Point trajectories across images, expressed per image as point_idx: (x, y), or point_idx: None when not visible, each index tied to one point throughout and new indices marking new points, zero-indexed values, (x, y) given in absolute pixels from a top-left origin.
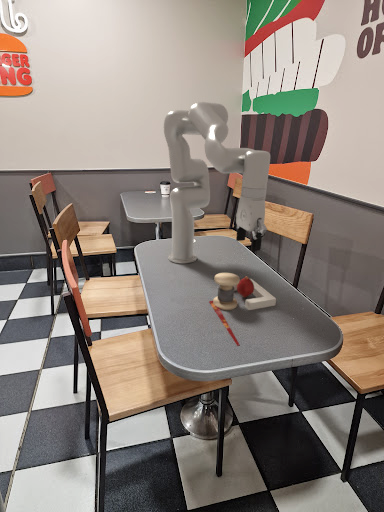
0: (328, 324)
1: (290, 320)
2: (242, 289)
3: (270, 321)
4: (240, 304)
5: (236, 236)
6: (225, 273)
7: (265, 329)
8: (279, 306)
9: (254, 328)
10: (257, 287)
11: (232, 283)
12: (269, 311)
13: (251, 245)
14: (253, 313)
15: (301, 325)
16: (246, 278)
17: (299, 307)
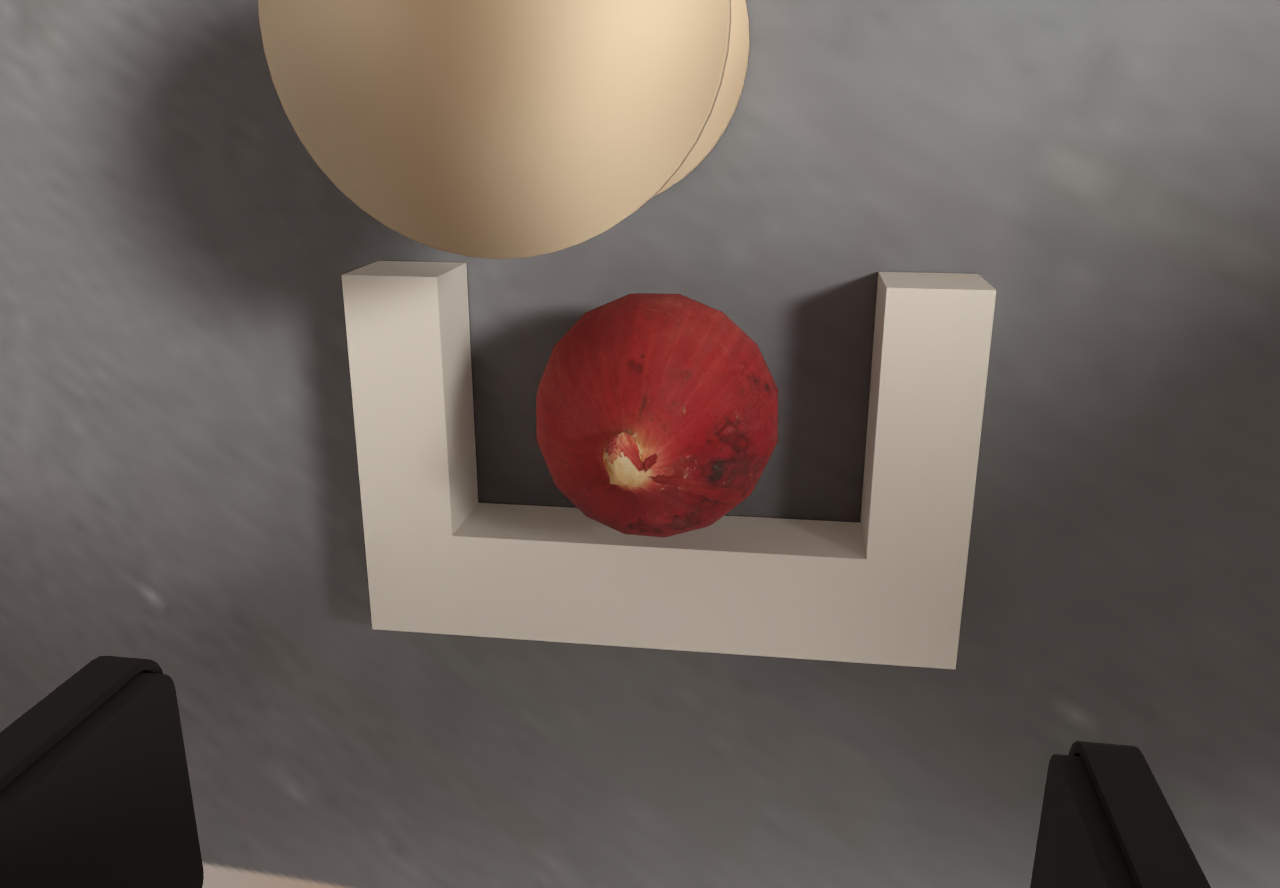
0: None
1: (123, 550)
2: (574, 326)
3: (136, 359)
4: None
5: (1179, 831)
6: (677, 81)
7: (15, 227)
8: None
9: (44, 125)
10: (691, 597)
11: (261, 12)
12: (309, 462)
13: (27, 739)
14: (308, 276)
15: (35, 586)
16: (607, 450)
17: (316, 774)
